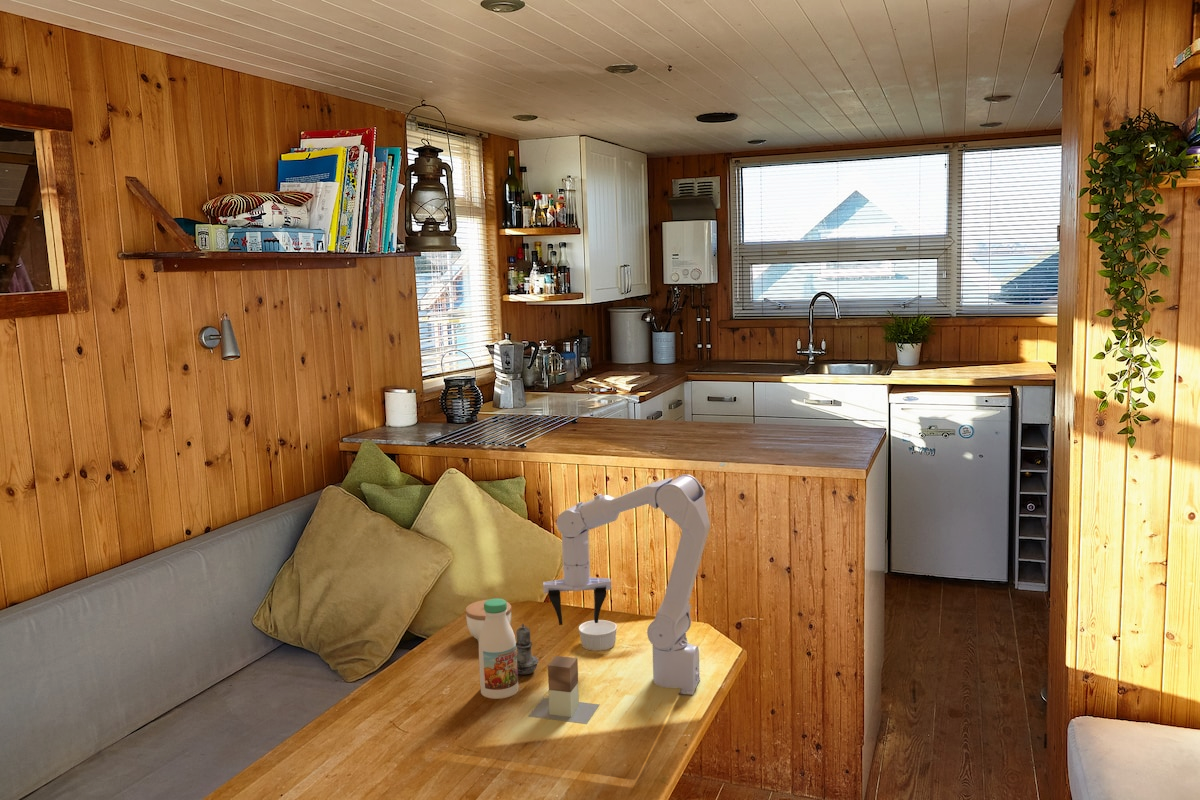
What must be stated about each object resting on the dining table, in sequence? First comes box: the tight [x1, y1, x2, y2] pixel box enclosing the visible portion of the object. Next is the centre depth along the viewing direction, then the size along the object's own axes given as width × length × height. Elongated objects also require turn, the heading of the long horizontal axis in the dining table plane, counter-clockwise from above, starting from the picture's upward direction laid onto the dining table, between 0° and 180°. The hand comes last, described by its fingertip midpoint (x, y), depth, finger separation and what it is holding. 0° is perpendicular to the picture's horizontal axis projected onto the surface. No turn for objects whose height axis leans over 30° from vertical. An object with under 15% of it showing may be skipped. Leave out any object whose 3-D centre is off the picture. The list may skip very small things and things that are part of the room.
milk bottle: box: [478, 598, 519, 700], centre depth 192 cm, size 8×8×20 cm
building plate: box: [528, 697, 601, 725], centre depth 184 cm, size 12×8×1 cm, turn 72°
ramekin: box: [578, 619, 618, 652], centre depth 217 cm, size 9×9×4 cm
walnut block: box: [547, 655, 579, 692], centre depth 183 cm, size 4×4×5 cm
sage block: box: [548, 682, 580, 717], centre depth 183 cm, size 4×4×5 cm
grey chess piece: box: [516, 623, 539, 675], centre depth 200 cm, size 6×6×12 cm
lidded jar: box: [465, 598, 512, 643], centre depth 221 cm, size 11×11×9 cm
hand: (578, 622), depth 203 cm, fingers open, 7 cm apart
